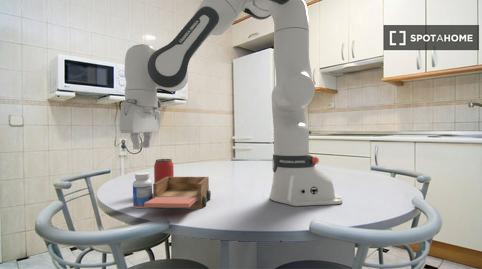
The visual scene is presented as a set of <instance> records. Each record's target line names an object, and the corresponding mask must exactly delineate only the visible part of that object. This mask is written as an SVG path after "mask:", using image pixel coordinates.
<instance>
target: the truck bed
mask: <svg viewBox="0 0 482 269" xmlns="http://www.w3.org/2000/svg"><path fill="white" fill-rule="evenodd" d="M209 182H210V180H209V176H174V177H165V178H163V179H161V180H160V181H158V182H156V183H154V182H153V183H152V199H153V198H154V197H155V196H197V197H198V201H196V202H194V203H193V204H192V205H191V206H190V207H153V209H202V208H203V207H206V206H207V203H208V201H210V200H211V197H212V196H211V195H212V193H211V190H210V189H209V188H210V187H209V186H210V185H209Z"/></svg>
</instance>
